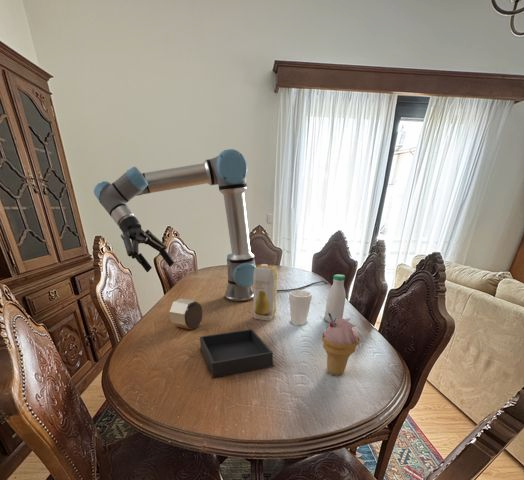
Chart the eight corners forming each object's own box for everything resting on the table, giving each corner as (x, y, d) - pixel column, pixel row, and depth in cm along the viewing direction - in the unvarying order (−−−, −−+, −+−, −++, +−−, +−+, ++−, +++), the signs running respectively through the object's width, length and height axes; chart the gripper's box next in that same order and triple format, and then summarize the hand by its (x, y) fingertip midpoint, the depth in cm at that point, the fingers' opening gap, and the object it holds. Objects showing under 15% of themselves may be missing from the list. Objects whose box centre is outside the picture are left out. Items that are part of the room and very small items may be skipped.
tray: (252, 340, 109) (252, 328, 107) (272, 366, 93) (273, 352, 91) (201, 349, 103) (199, 336, 100) (213, 377, 87) (212, 363, 84)
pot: (172, 329, 117) (168, 303, 112) (188, 320, 126) (185, 296, 121) (188, 333, 115) (184, 306, 109) (203, 323, 123) (201, 298, 118)
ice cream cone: (333, 385, 84) (342, 322, 74) (310, 367, 92) (317, 309, 83) (360, 376, 88) (373, 315, 79) (337, 360, 97) (346, 303, 87)
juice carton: (252, 319, 128) (251, 264, 117) (258, 313, 135) (258, 261, 123) (271, 322, 125) (273, 266, 114) (277, 316, 132) (279, 262, 120)
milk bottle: (342, 324, 124) (349, 278, 115) (324, 322, 126) (330, 277, 116) (341, 317, 131) (348, 273, 122) (324, 316, 132) (329, 272, 123)
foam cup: (311, 320, 128) (313, 291, 122) (307, 327, 120) (309, 298, 114) (290, 317, 131) (292, 289, 125) (285, 324, 123) (286, 295, 117)
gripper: (144, 227, 124) (175, 268, 126) (95, 229, 103) (133, 278, 105) (153, 215, 120) (185, 257, 123) (104, 214, 99) (143, 266, 101)
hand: (161, 267), depth 114 cm, fingers open, 13 cm apart
